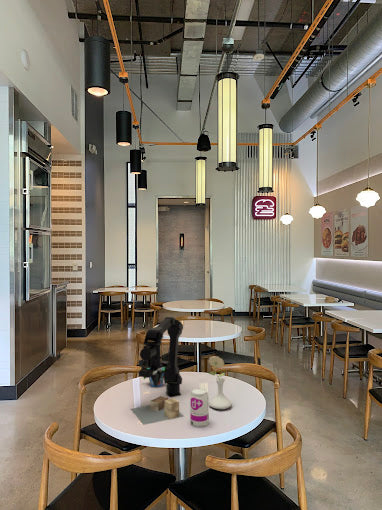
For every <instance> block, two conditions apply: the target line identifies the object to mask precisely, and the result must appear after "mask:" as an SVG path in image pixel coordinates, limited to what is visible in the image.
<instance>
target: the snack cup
mask: <svg viewBox="0 0 382 510" xmlns="http://www.w3.org/2000/svg"><path fill="white" fill-rule="evenodd" d="M165 368H166V367H163V368H162V371H164V369H165ZM146 369H150V368H147V367H146ZM153 370H154V369H153ZM163 376H164V373H163V374H162V376H161V378H160V381H159V383H158V385H157V386H154V383H153V381H152V378H151V377H149V378H148V380H149V386H150V387H153V388H159V387H162V386H164V385H163V384H164V377H163ZM143 379H144V380H146V378H145V377H143Z"/></svg>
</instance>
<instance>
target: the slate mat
mask: <svg viewBox="0 0 382 510" xmlns="http://www.w3.org/2000/svg"><path fill="white" fill-rule="evenodd" d="M130 410H131V411H132V412H133V414H134V415H135V416H136V417H137V419H138V420H139V422H140V423H141V424H142V425H143V426H144V425H149V424H154V423H159V422H163V421H169V420H170V419H169V418H168V417H166V416H165V408H164V409H162V410H160V411H155V410H151V409H150V404H149V405H143V406H139V407H133V408H130ZM182 417H185V416H184V414H183V413H181V411H179V417H175V418H172V419H171V420H173V419H178V418H182Z"/></svg>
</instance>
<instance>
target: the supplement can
mask: <svg viewBox="0 0 382 510" xmlns="http://www.w3.org/2000/svg"><path fill="white" fill-rule="evenodd" d="M189 414H190V415H189V416H190V420H189V421H190V425H191V426H192V427H194V428H203V427H204V428H205V427H206V426H208V425H209V423H210V421H209V393H208V390H207V389H205V388H194V389H191V392H190V394H189Z"/></svg>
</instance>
